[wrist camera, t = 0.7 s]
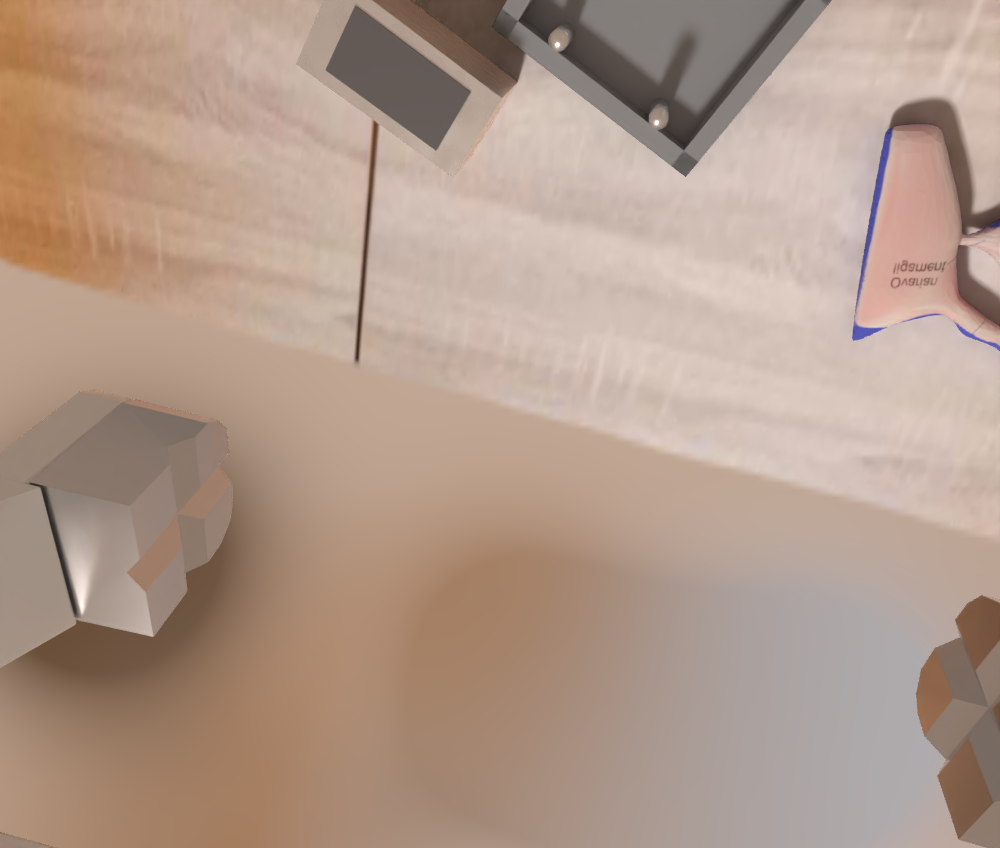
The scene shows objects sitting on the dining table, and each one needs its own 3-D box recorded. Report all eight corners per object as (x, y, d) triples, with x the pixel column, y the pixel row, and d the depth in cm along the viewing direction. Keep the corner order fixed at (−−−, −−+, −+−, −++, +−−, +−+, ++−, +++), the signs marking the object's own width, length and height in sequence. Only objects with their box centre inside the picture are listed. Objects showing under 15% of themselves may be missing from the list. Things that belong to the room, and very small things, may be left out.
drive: (369, -33, 41) (335, -28, 37) (518, 81, 43) (501, 98, 39) (331, 50, 44) (295, 64, 40) (472, 154, 46) (452, 178, 42)
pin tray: (627, -198, 35) (623, -210, 32) (834, -18, 37) (849, -12, 34) (500, 21, 41) (485, 30, 38) (685, 164, 43) (686, 184, 40)
